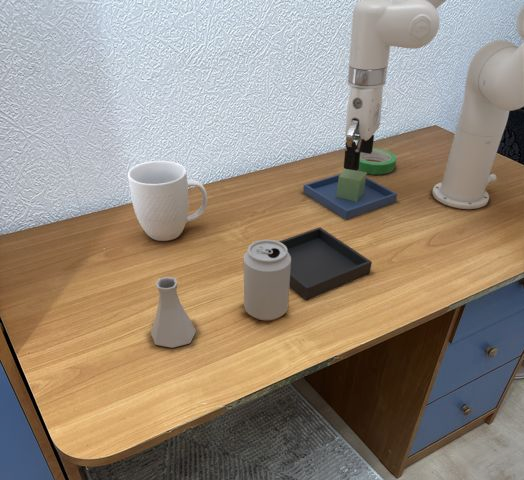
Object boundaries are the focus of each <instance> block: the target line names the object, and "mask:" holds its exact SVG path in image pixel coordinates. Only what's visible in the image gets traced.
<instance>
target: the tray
mask: <svg viewBox="0 0 524 480" xmlns="http://www.w3.org/2000/svg"><path fill="white" fill-rule="evenodd" d="M340 175H341V173H339V174H334V175H332V176H328V177H326V178H322V179H318V180H315V181H312V182H307V183H305V184H303V188H302V189H303V190H302V193H303V194H304V195H306V196H307V197H308V198H311V199H313V201H315V202H317V203H319V204H320V205H322V206H323V207H325V208H326V209H328V210H330V211H331V212H333V213H334V214H336V215H338V216H339V217H341V218H343V219H344V220H348V219H352V218H354V217H357V216H360V215H362V214H365V213H368V212H372V211H375V210H377V209H380V208H382V207H386V206H388V205H392V204H394V203H396V202H397V198H398V193H397V192H395V191H393V190H391V189H390V188H387V187H385V186H384V185H382V184H380V183H378V182H377V181H374V180H372V179H371V178H368V177H367V176H366V181H365V187H364V193H363V194H362V196H361V197H360V198H359V200H358V201H357V202H355V201H351V200H346V199H342V198H337V197H336V195H337V187H338V179H339V176H340Z"/></svg>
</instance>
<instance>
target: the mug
mask: <svg viewBox="0 0 524 480" xmlns="http://www.w3.org/2000/svg"><path fill="white" fill-rule="evenodd" d="M187 175H188V174H187V169H186V167H185V166H183V165H182V164H181V163H178V162H176V161H170V160H151V161H145V162H142V163H138V164H136V165H134V166H132V167H131V168H130V169H129V170H128V172H127V178H128V179H127V180H128V187H129V191H130V197H131V202H132V207H133V211H134V213H135V216H136V218H137V221H138V223H139V225H140V227H141V228H142V230H143V231H144V232H145V234H146V235H147V236H148V237H149V238H150V239H152V240H155V241H158V242H168V241H172V240H175V239H177V238H178V237H180V236H181V235H182V233H183V231H184V230H185V228H186V227H185V226H186V224H187V223H189V222H191V221H194V220H196V219H198V218H200V217H201V216H202V215H203V214H204V213H205V211H206V209H207V207H208V201H209V200H208V199H209V198H208V192H207V191H206V188H205V187H204V185H203V184H202V183H201V182H200V181H198V180H195V179H191V178H190V179H188V176H187ZM191 187H197V188H198V189H199V190H200V193H201V194H202V202H201V205H200V207H199V208H198V210H196V211H195V212H193V213H192V214H189V203H190V202H189V200H190V198H189V188H191Z"/></svg>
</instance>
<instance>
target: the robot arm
mask: <svg viewBox="0 0 524 480" xmlns="http://www.w3.org/2000/svg"><path fill="white" fill-rule="evenodd" d="M446 1H447V0H392V1H391V0H359V1H358V2H356V4H354V7H353V11H352V19H351V21H352V22H351V32H350V47H349V58H348V68H347V69H348V71H347V81H346V84H347V85H348V86H349V87H350V90H349V97H348V105H347V110H346V111H347V112H346V121H345V144H344V145H345V147H344V158H343V169H344V170H345V169H349V170H355V171H357V170H358V169H359V162H360V152H362V153H368V154H371V153H372V149H373V148H374V141H375V133H376V132H377V131H378V129H379V127H380V125H381V115H382V104H383V91H384V89H383V88H384V86H385V85H386V81H387V76H388V75H387V73H388V67H389V66H388V65H389V58H390V51H391V47H395V48H403V49H411V50H412V49H420V48H423V47H426V46H427V45H428V44H430V43H431V42H432V41H433V40H434V39H435V38H436V36H437V34H438V32H439V29H440V14H439V12H438V8H440V6H442V5H443V4H444V3H445V2H446ZM515 26H516V27H515V29H516V32H517V34H518V36H519V37H520V38H521V39H522V40H523V41H522V43H521V44H520V45H519V46H518V45H516V44H514V43H513V42H510V41H508V40H494V41H489V42H488V43H486V44H484V45H483V46H482V47H480V48H479V49H478V51H476V53H475V54H474V56H473V57H472V59H471V60H470V63H469V65H468V68H467V72H466V78H465V84H464V85H465V86H464V93H463V99H462V105H461V109H460V112H459V113H460V114H459V117H458V120H457V125H456V127H455V132H454V135H453V139H452V143H451V145H450V150H449V154H448V158H447V162H446V165H445V169H444V173H443V176H442V179H441V180H442V181H441V182H438V183H437V184H435V185H434V186H433V188H432V196H433V198H434V199H435V200H436V201H438V202H439V203H441V204H443V205H445V206H448V207H451V208H455V209H462V210H474V209H480V208H483V207H485V206H486V205H487V204H488V203H489V200H490V194H489V193H488V192H487V190H486V189H487V186H488V185H490V184H493V183H495V182H496V181H497V179H498V178H497V176H496V174H494V173H491V170H492V167H493V165H494V162H495V159H496V155H497V152H498V150H499V147H500V144H501V141H502V138H503V134H504V132H505V129H506V127H507V123H508V119H509V115H510V112H511V111H512V112H513V111H516V110H520V109H521V108H523V107H524V5H523V6H522V7H521V9H520V11H519V13H518V14H517V18H516V22H515ZM356 141H357V142H356Z"/></svg>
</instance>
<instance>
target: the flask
mask: <svg viewBox="0 0 524 480" xmlns="http://www.w3.org/2000/svg"><path fill="white" fill-rule="evenodd" d="M178 284H179V283H178V280H177V278H176V277H172V276H165V277H160V278H158V279H157V281H156V282H155V286H156V288H157V290H158V305H157V309H156V313H155V317H154V321H153V324H152V327H151V330H150V331H151V332H150V335H151V338H152V341H153V343H154V345H155V346H160V347H166V348H171V349H174V348H177V347H181V346H185V345H188V344H191V342H192V341H193V339H194V337H195V335H196V333H197V331H196V329H195V326H194V325H193V322H192V320H191V319H190V317H189V315H188V313H187V312H186V310H185V308H184V306H183V304H182V303H181V301H180V298H179V295H178V290H177V287H178V286H179V285H178Z"/></svg>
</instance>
